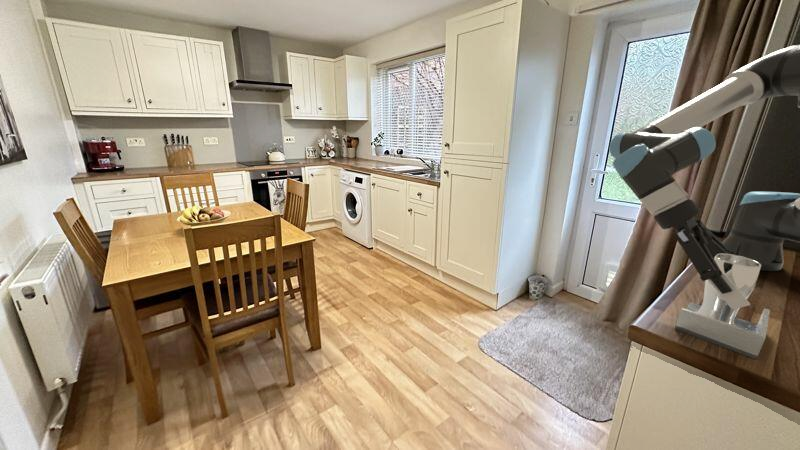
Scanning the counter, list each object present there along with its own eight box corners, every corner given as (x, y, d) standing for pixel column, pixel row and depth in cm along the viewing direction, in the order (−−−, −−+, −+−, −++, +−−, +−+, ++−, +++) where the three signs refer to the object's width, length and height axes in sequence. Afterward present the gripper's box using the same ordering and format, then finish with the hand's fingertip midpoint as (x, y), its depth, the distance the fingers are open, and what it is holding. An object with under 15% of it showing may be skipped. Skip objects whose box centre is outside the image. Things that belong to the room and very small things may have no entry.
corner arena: (689, 304, 77) (695, 287, 76) (761, 329, 69) (770, 309, 67) (674, 328, 68) (681, 308, 67) (755, 359, 59) (765, 338, 58)
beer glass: (683, 313, 72) (705, 252, 67) (715, 313, 72) (738, 253, 67) (711, 332, 66) (737, 267, 61) (745, 333, 65) (774, 268, 61)
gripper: (665, 207, 81) (729, 285, 74) (636, 224, 66) (712, 323, 60) (699, 191, 75) (771, 273, 69) (676, 205, 61) (764, 311, 54)
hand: (744, 296), depth 64 cm, fingers open, 11 cm apart
